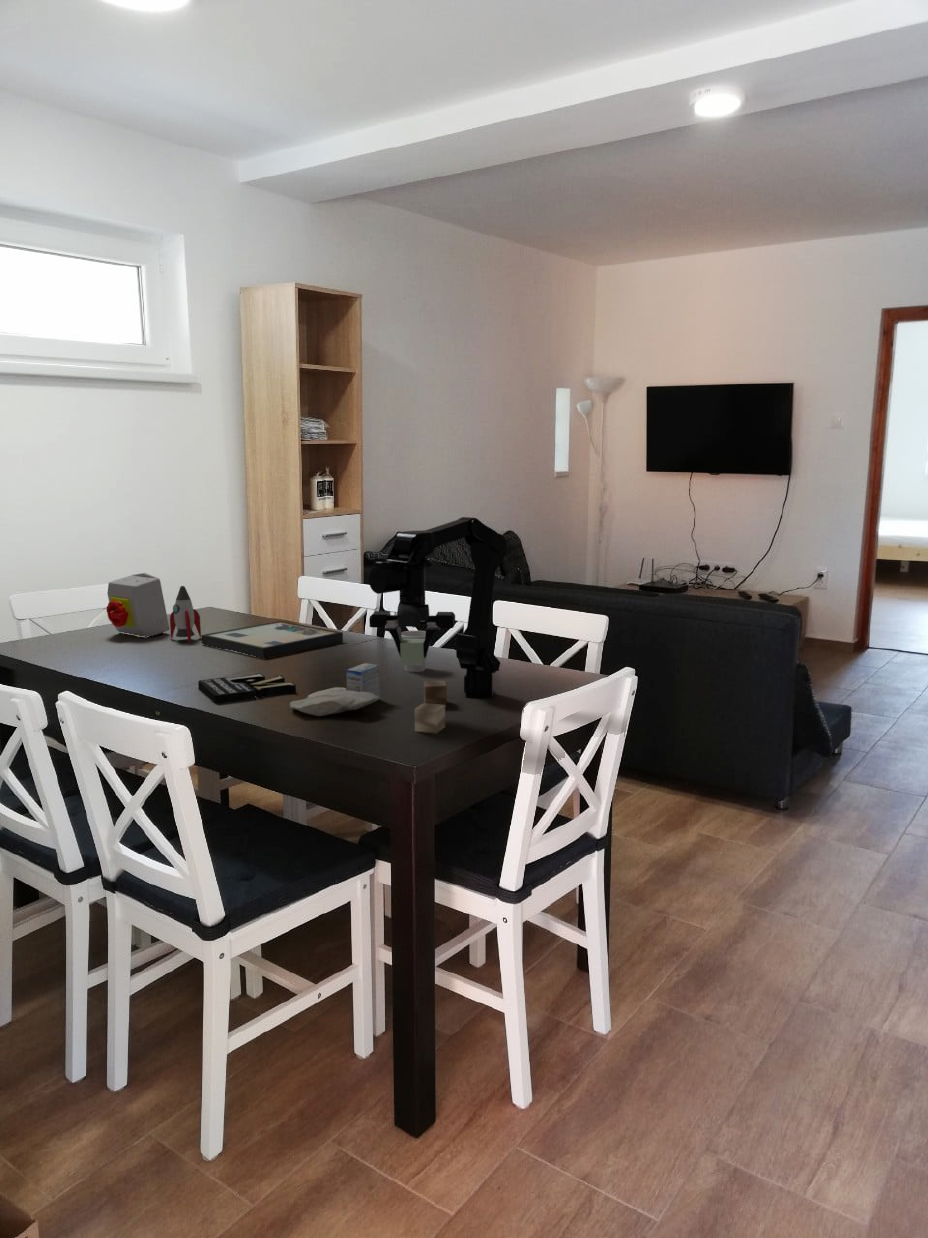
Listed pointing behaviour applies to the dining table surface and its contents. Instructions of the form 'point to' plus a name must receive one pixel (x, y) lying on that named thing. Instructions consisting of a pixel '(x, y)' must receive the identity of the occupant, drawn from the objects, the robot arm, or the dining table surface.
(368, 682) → the medicine box
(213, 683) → the decorative sign
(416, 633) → the dixie cup
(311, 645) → the board game box
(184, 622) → the toy
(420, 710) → the beech cube
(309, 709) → the rock
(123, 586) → the electrical switch box
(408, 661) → the sage cube
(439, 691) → the walnut cube
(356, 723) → the dining table surface
